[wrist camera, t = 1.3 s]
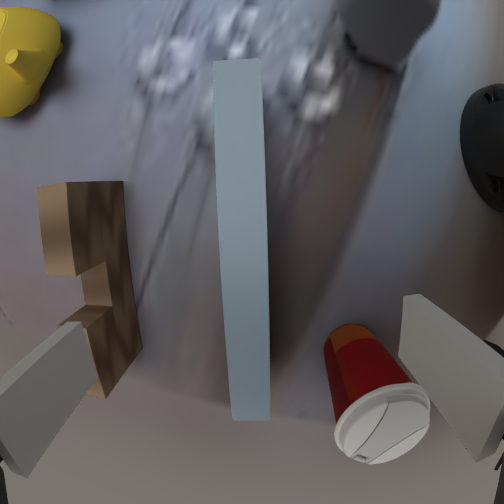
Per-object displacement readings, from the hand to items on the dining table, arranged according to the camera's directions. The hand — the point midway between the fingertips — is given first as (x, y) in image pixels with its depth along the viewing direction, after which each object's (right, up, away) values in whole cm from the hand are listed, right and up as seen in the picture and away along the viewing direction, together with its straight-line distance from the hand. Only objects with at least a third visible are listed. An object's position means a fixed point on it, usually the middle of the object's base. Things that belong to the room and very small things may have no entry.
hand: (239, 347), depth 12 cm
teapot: (-26, +26, +15) cm, 40 cm away
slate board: (0, +5, +18) cm, 19 cm away
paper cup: (+11, -6, +20) cm, 24 cm away
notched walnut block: (-13, +2, +19) cm, 24 cm away
